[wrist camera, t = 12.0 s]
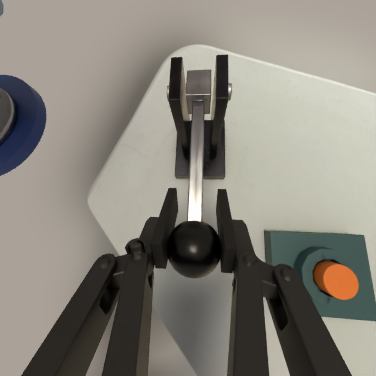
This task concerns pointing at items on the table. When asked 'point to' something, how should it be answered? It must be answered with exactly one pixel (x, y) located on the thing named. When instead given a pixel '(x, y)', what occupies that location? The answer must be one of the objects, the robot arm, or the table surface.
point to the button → (336, 280)
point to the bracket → (212, 128)
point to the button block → (318, 252)
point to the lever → (195, 192)
